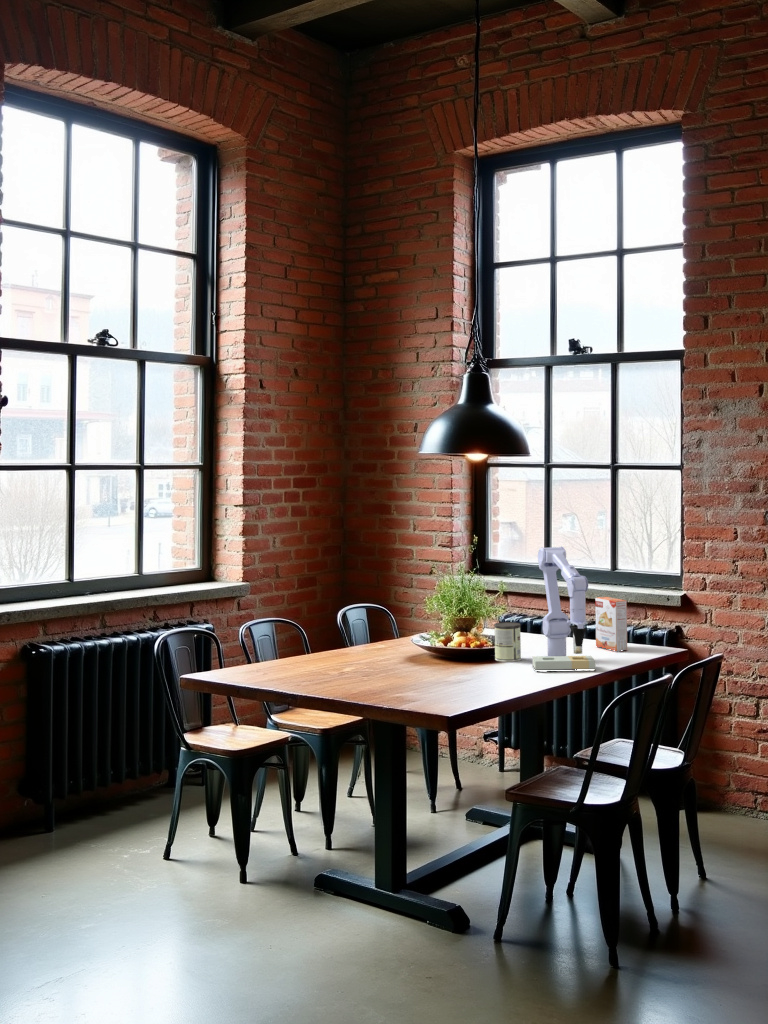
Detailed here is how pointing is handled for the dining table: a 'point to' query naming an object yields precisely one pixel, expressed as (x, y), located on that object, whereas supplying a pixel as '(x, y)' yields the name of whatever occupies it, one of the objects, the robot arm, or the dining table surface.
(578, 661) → the hole block
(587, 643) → the dining table surface
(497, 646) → the coffee can
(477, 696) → the dining table surface
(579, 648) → the steel peg
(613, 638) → the cracker box
